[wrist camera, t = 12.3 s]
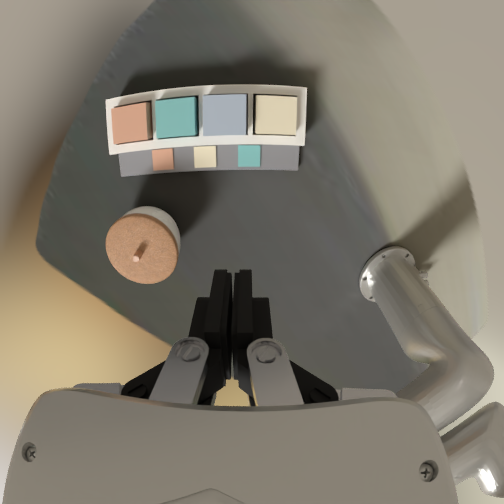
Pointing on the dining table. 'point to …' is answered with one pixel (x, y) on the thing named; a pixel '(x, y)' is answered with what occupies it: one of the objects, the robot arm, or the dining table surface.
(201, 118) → the keypad
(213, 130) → the key
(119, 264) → the lidded jar
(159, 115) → the key
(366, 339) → the dining table surface
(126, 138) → the key
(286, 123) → the key
